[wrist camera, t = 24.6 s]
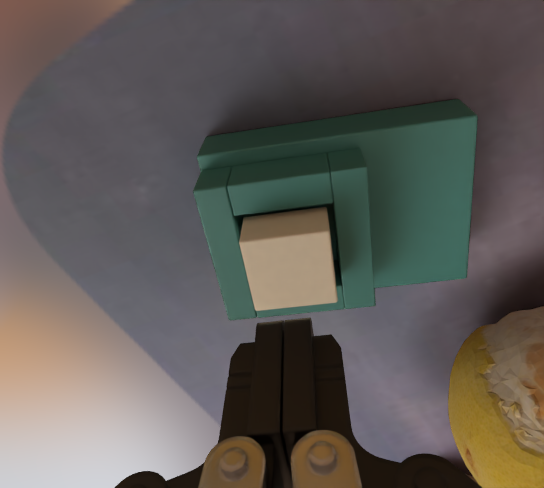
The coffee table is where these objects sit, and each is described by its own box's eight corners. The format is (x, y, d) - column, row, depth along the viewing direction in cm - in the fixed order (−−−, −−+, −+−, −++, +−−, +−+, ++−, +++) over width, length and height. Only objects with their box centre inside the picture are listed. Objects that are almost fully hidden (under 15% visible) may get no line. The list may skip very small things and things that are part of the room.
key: (243, 216, 17) (238, 241, 15) (326, 205, 16) (330, 230, 15) (258, 282, 18) (254, 312, 17) (334, 274, 18) (338, 303, 16)
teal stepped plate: (205, 136, 19) (186, 176, 16) (459, 97, 18) (498, 131, 14) (239, 274, 23) (230, 331, 19) (452, 250, 21) (482, 306, 18)
